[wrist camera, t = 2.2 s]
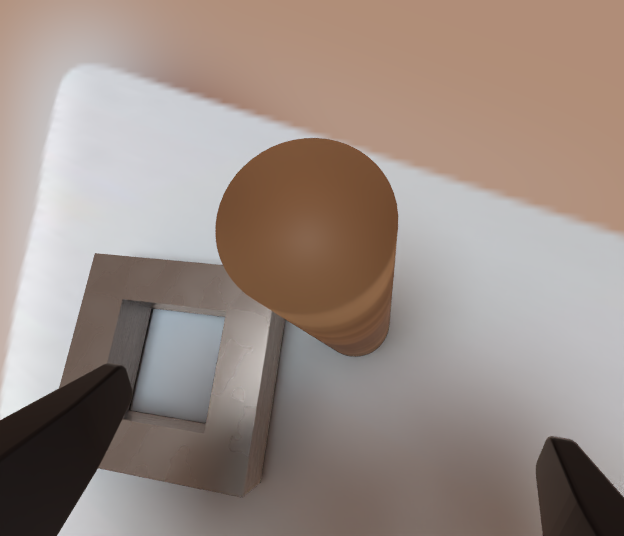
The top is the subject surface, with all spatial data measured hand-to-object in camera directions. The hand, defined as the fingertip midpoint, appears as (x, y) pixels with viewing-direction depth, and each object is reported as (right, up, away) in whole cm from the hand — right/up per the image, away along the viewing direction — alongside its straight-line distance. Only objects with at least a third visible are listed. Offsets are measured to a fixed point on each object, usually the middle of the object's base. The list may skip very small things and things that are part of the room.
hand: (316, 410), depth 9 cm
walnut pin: (+2, 0, +11) cm, 11 cm away
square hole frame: (-6, -2, +12) cm, 13 cm away
